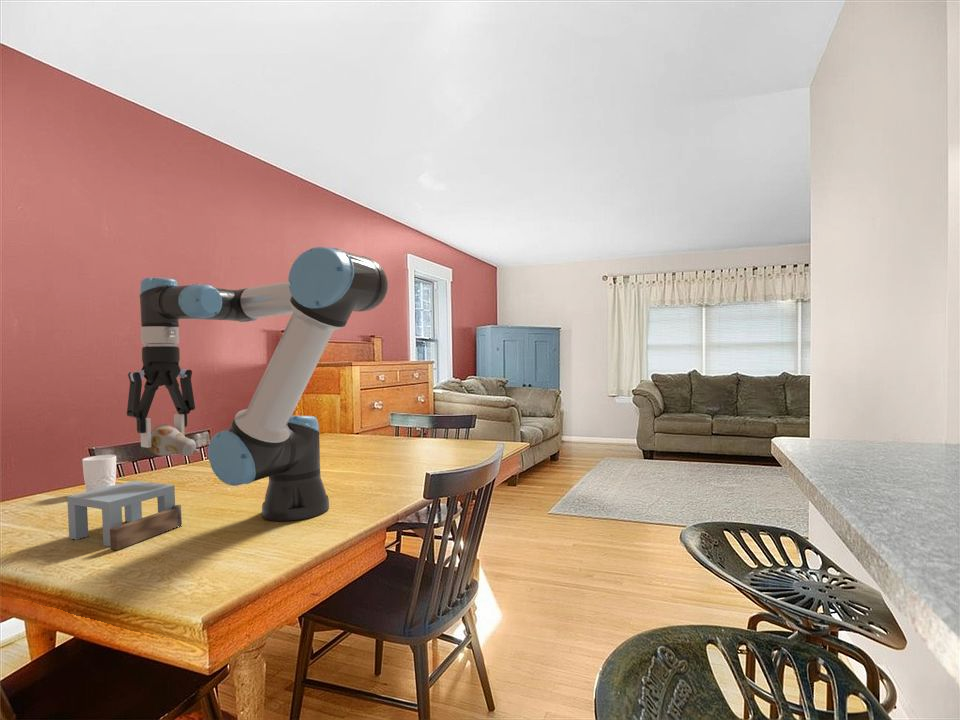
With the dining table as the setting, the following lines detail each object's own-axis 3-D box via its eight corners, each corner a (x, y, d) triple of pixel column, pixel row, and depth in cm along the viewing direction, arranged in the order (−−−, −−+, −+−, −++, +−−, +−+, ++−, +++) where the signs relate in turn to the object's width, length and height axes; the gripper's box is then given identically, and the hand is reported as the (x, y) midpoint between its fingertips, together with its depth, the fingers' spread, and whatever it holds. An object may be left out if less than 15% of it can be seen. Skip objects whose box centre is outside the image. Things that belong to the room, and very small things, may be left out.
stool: (176, 525, 119) (174, 485, 119) (111, 547, 107) (109, 502, 106) (135, 518, 125) (133, 480, 125) (69, 538, 112) (67, 496, 112)
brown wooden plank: (177, 525, 119) (176, 504, 119) (183, 525, 119) (182, 505, 119) (110, 550, 105) (109, 526, 105) (117, 551, 104) (116, 527, 104)
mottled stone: (187, 459, 120) (161, 422, 118) (159, 476, 123) (133, 439, 121) (210, 445, 127) (185, 410, 125) (183, 461, 130) (159, 427, 128)
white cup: (123, 490, 152) (121, 456, 152) (91, 497, 146) (89, 461, 146) (110, 487, 157) (108, 453, 156) (78, 494, 150) (77, 458, 150)
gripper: (124, 345, 113) (127, 453, 113) (210, 345, 131) (213, 438, 131) (104, 345, 116) (107, 450, 117) (191, 345, 134) (193, 436, 135)
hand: (163, 443), depth 124 cm, fingers closed on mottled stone, 7 cm apart
